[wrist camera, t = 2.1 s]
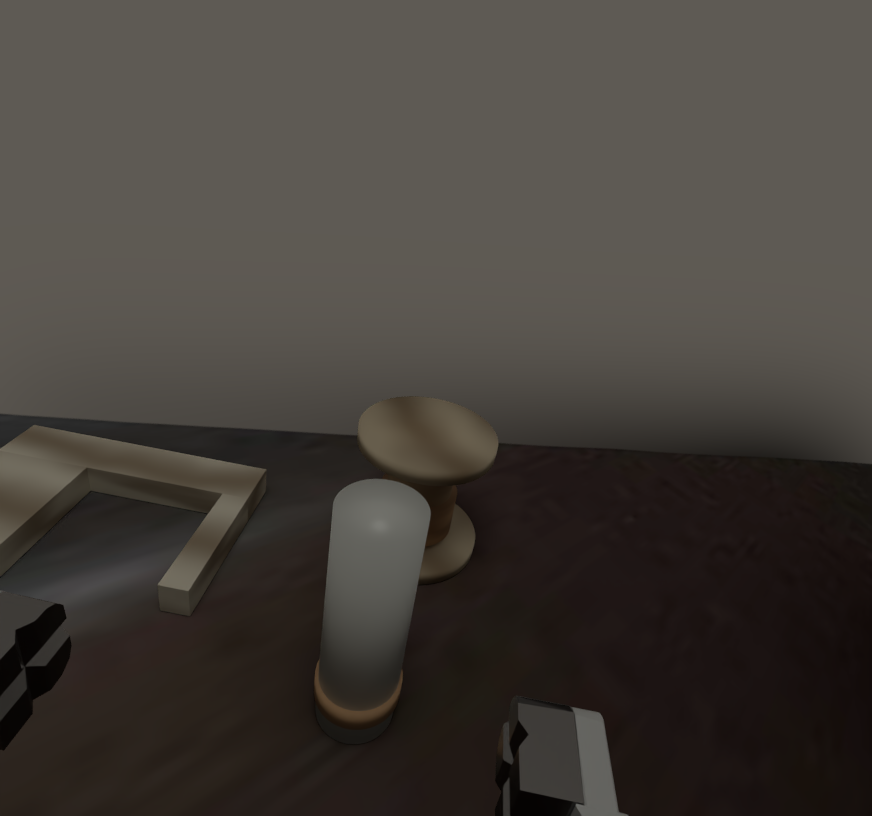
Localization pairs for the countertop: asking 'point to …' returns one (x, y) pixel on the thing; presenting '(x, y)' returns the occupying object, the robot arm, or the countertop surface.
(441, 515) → the spool
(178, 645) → the countertop surface
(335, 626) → the pin
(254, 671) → the countertop surface
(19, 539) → the notch board
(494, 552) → the countertop surface
